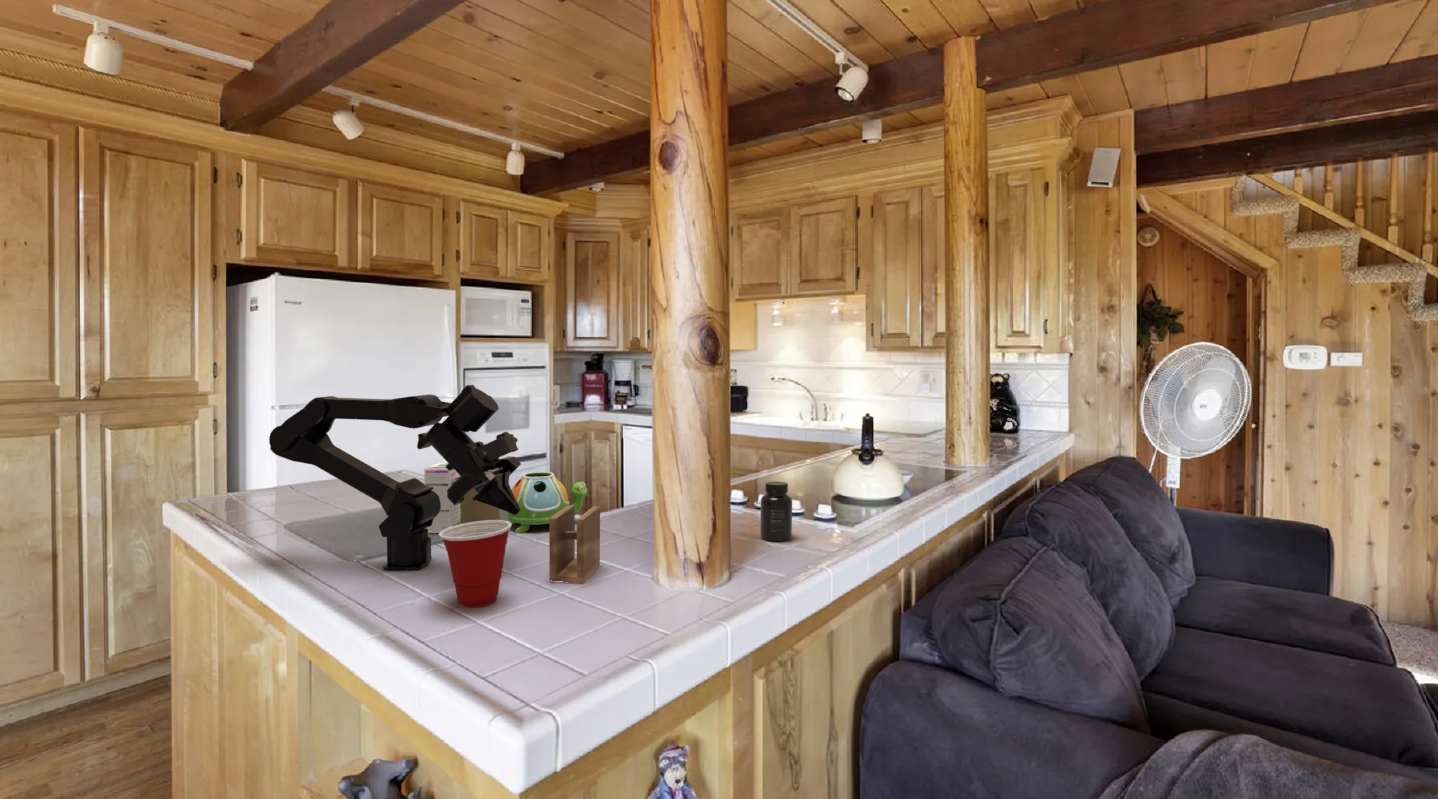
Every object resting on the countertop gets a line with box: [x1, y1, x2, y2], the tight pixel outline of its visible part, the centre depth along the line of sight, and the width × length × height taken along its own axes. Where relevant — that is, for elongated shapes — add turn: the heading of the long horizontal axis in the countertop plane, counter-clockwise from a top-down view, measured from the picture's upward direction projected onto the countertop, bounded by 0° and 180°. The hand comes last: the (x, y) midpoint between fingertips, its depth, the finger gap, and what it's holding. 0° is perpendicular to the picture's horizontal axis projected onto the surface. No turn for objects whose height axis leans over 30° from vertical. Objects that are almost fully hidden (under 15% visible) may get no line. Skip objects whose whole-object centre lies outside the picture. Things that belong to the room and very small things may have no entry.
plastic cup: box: [438, 519, 513, 608], centre depth 106 cm, size 11×11×12 cm
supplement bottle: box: [759, 481, 793, 542], centre depth 145 cm, size 7×7×12 cm
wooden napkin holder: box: [548, 504, 601, 585], centre depth 120 cm, size 6×10×11 cm, turn 174°
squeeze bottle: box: [460, 488, 501, 524], centre depth 142 cm, size 8×8×18 cm
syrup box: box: [423, 462, 462, 534], centre depth 147 cm, size 6×6×14 cm
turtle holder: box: [507, 471, 589, 533], centre depth 153 cm, size 12×18×12 cm
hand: (518, 512), depth 121 cm, fingers closed
